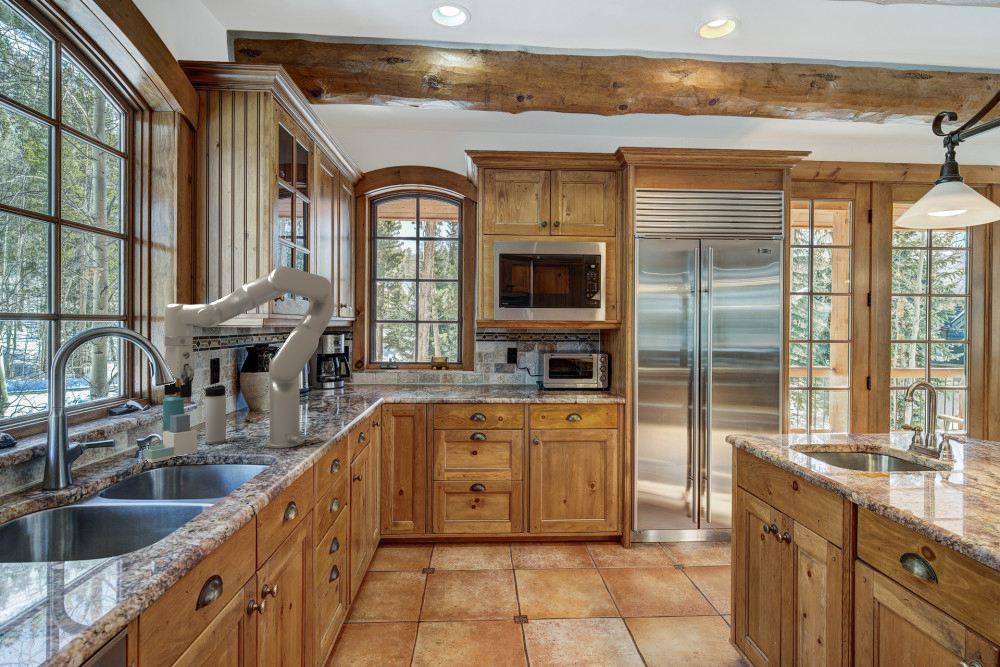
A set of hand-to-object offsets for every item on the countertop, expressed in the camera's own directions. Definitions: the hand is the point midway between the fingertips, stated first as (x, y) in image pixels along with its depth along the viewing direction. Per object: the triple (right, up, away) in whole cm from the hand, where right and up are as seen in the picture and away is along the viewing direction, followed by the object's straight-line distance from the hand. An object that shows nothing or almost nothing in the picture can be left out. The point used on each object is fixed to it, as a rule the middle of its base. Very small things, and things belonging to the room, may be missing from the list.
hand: (177, 396), depth 154 cm
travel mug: (+3, -19, +16) cm, 25 cm away
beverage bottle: (-11, -19, +15) cm, 27 cm away
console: (-1, -19, -2) cm, 19 cm away
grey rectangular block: (+1, -14, 0) cm, 14 cm away
